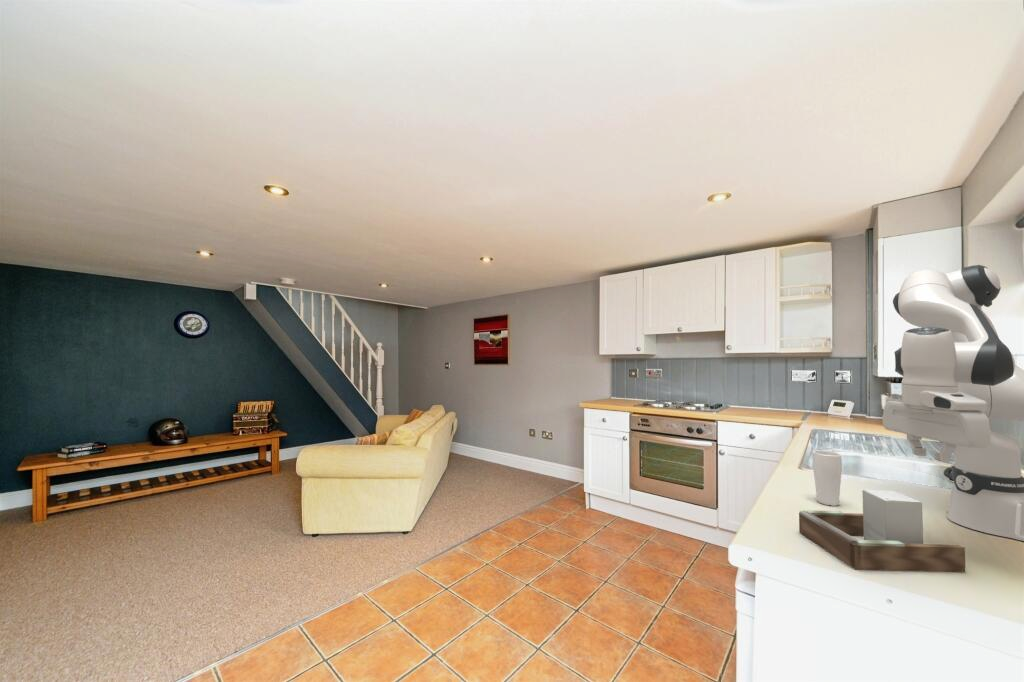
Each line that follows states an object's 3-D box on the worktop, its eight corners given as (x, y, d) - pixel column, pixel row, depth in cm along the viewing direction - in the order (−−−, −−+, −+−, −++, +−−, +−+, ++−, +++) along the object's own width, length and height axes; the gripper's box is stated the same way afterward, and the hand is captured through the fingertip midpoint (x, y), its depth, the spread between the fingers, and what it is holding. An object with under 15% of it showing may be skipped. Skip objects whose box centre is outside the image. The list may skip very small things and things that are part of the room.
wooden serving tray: (889, 534, 95) (889, 511, 96) (966, 572, 79) (965, 544, 79) (797, 532, 96) (797, 509, 96) (854, 569, 80) (853, 542, 80)
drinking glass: (844, 509, 110) (843, 457, 111) (815, 504, 114) (814, 453, 114) (840, 501, 116) (839, 452, 117) (812, 497, 120) (811, 449, 120)
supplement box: (925, 561, 83) (924, 502, 83) (885, 557, 85) (884, 499, 85) (898, 544, 90) (897, 490, 91) (862, 541, 92) (861, 488, 92)
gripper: (873, 392, 99) (875, 446, 98) (964, 403, 78) (966, 471, 78) (899, 392, 98) (900, 447, 98) (997, 403, 78) (999, 472, 78)
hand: (930, 458), depth 88 cm, fingers open, 4 cm apart
